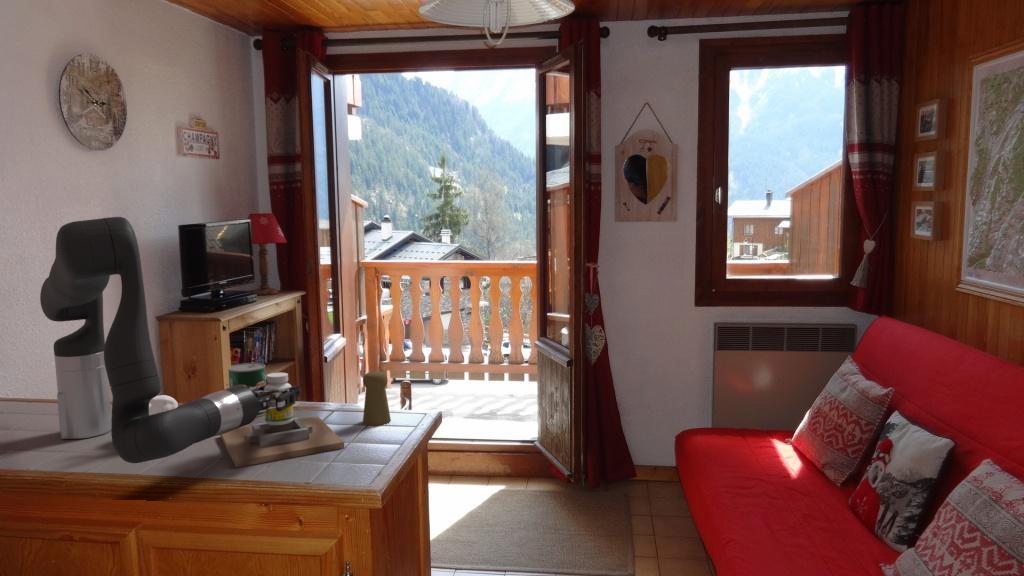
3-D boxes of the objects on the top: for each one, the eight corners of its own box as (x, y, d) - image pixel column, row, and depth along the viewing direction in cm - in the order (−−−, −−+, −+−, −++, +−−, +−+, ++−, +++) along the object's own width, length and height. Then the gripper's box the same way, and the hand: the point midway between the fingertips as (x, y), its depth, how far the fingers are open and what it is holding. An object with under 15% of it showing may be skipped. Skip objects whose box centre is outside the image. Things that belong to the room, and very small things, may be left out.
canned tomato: (245, 421, 160) (242, 372, 159) (223, 415, 164) (220, 368, 163) (275, 412, 166) (272, 365, 165) (252, 407, 171) (250, 361, 169)
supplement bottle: (294, 423, 143) (292, 376, 142) (266, 427, 141) (264, 378, 140) (291, 416, 148) (289, 370, 147) (264, 419, 146) (262, 373, 145)
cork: (384, 426, 155) (383, 376, 153) (358, 425, 156) (356, 375, 155) (394, 418, 161) (393, 369, 159) (369, 416, 162) (367, 368, 160)
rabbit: (185, 439, 148) (181, 382, 146) (138, 452, 141) (133, 392, 139) (156, 428, 155) (152, 374, 154) (110, 440, 148) (105, 383, 147)
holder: (235, 467, 132) (234, 450, 132) (220, 436, 149) (219, 421, 149) (344, 447, 142) (343, 432, 141) (318, 421, 159) (317, 407, 159)
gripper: (255, 394, 128) (315, 373, 143) (193, 387, 133) (257, 368, 149) (257, 435, 129) (317, 410, 144) (195, 427, 134) (259, 404, 150)
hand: (286, 389), depth 146 cm, fingers closed on supplement bottle, 5 cm apart
